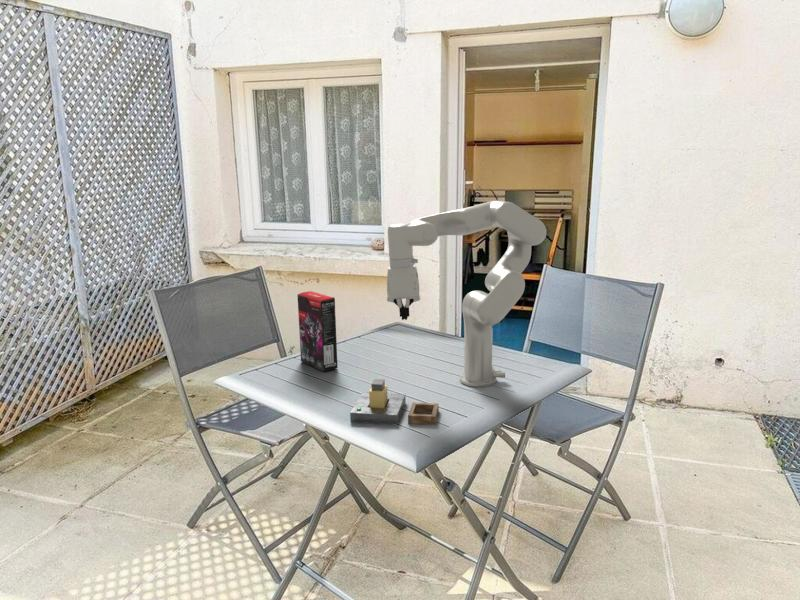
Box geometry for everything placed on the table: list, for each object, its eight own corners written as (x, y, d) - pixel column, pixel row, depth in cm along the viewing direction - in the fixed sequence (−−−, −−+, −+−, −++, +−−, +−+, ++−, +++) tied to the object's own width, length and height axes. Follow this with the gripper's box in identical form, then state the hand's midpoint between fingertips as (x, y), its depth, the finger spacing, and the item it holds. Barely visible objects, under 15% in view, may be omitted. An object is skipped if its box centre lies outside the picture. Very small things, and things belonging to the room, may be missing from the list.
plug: (387, 408, 186) (386, 378, 183) (384, 416, 180) (383, 385, 178) (373, 408, 186) (372, 377, 184) (370, 416, 181) (368, 385, 178)
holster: (438, 411, 183) (438, 403, 182) (435, 424, 174) (435, 416, 173) (412, 410, 184) (412, 402, 184) (408, 423, 175) (407, 415, 174)
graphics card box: (299, 362, 231) (295, 293, 225) (315, 358, 235) (311, 290, 229) (323, 373, 218) (320, 300, 212) (339, 368, 222) (336, 297, 216)
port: (405, 402, 190) (405, 392, 189) (397, 424, 174) (397, 413, 174) (362, 401, 192) (362, 391, 191) (350, 422, 177) (350, 411, 176)
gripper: (425, 260, 192) (428, 315, 197) (380, 261, 194) (383, 316, 199) (424, 264, 185) (426, 321, 190) (376, 266, 187) (380, 322, 192)
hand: (404, 318), depth 194 cm, fingers closed
